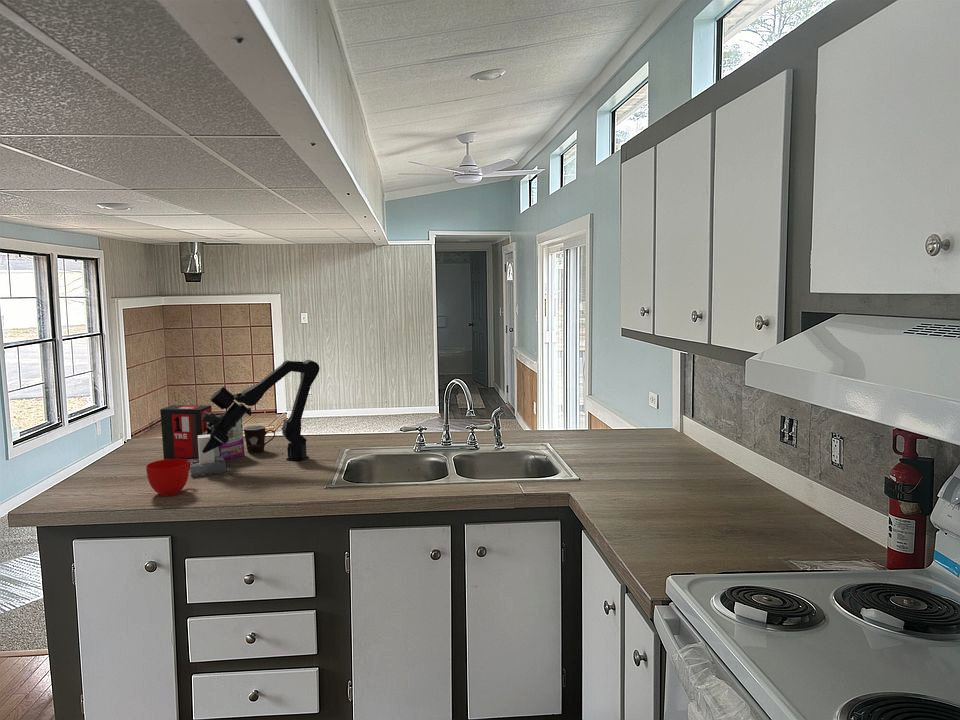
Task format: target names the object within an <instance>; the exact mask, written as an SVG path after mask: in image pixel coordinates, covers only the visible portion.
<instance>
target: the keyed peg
mask: <svg viewBox="0 0 960 720" xmlns="http://www.w3.org/2000/svg"><path fill="white" fill-rule="evenodd" d="M209 440H210V434H207V435H198V452H199V463H198V464H205V463H213V462H215V458H214V449H212V450H210V451H208V452H206V453H203V452H202V450H203V449H204V447H205V446H206V444H207V443H208V441H209Z"/></svg>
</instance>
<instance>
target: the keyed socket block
mask: <svg viewBox="0 0 960 720" xmlns="http://www.w3.org/2000/svg"><path fill="white" fill-rule="evenodd" d="M214 458H215V462H213V463H205V464H198V463H199V458H198V459H187V460H188V461H189V462H190V470H189V475H190V474H191V475H190V477H191V476H193V477H197V476H196V475H200V476H203V475H202V474H208V475H211V474H210V473H216V474H220V473H219V472H223V473H227V466H226V465H227V464H226V460H224V459H223V457H222V456H214Z"/></svg>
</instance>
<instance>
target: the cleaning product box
mask: <svg viewBox="0 0 960 720" xmlns="http://www.w3.org/2000/svg"><path fill="white" fill-rule="evenodd" d="M159 411H160V422H161V423H160V424H161V425H160V426H161V427H160V428H161V437H162V440H161V441H162V451H163V452H162V453H163V460H165V459H186V460H189V459H198V458H199V452H198V435H206V434H207V427H208V426H207V424H208V422H204V421H202V416H203V414H204V411H206V412H209V413H211V412H212V405H210V404H209V405H208V404H207V405H206V404H205V405H204V404H203V405H200V404H199V405H196V404H195V405H194V404H193V405H189V404H188V405H185V404H183V405H181V404H178V405H177V404H176V405H173V404H172V405H169V406H167V407H163V408H160V409H159ZM212 413H213V412H212ZM208 428H209V427H208Z"/></svg>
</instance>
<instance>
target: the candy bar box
mask: <svg viewBox="0 0 960 720" xmlns="http://www.w3.org/2000/svg"><path fill="white" fill-rule="evenodd" d="M228 433H229V434H228V437H229V441H228V442H227V443H226V444H224V445H221V446H219V447H216V448H214V456H222V457H223V459H224V461H226V459H227V460H230V458H231V459H234V457H235V458H239V457H242V455H243V456H245V444H244V427H243V417H242V418H241V419H240V420H239V421H238V422H237V423H236V426H235V427H233V428H232V429H231V430H230V431H229V432H228ZM238 456H239V457H238Z"/></svg>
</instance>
